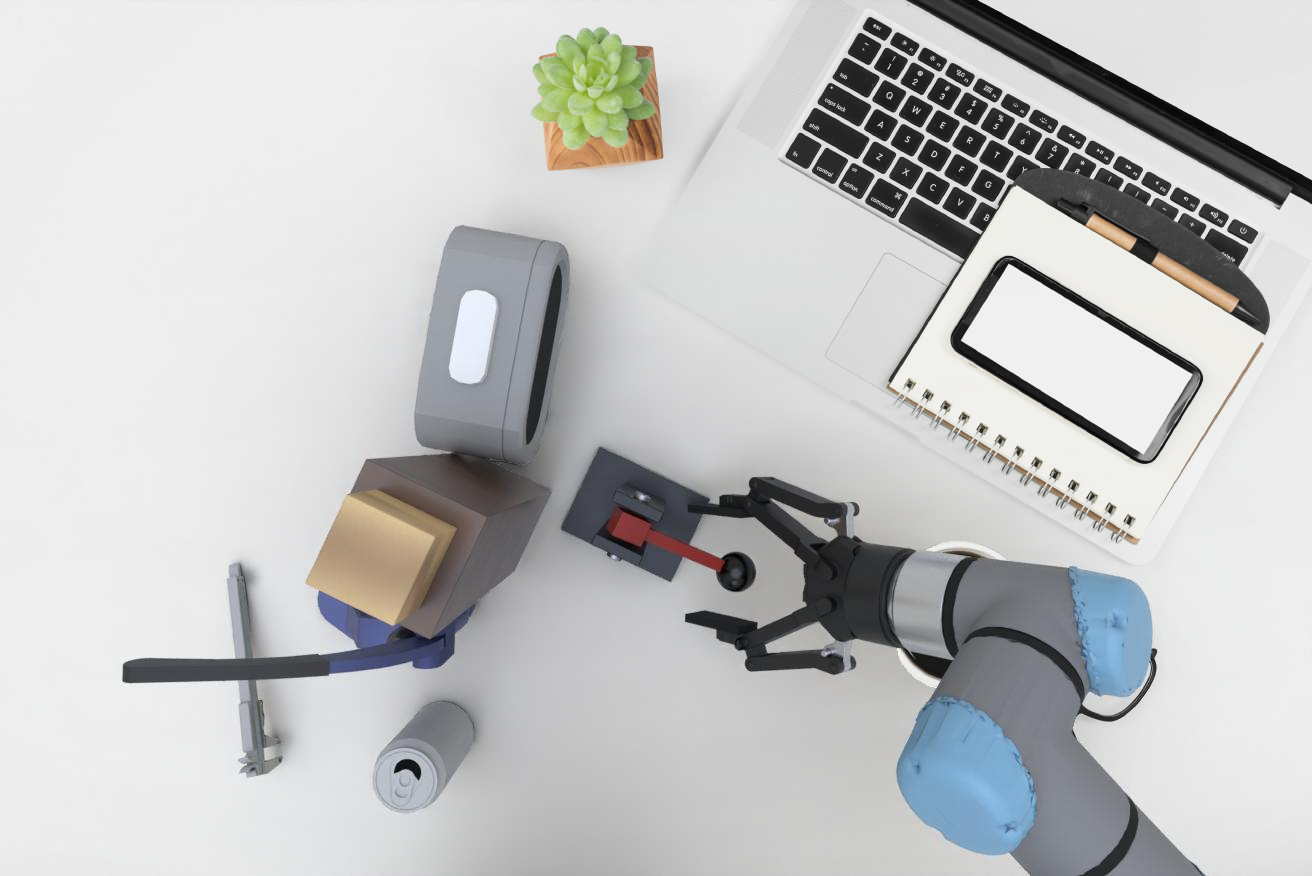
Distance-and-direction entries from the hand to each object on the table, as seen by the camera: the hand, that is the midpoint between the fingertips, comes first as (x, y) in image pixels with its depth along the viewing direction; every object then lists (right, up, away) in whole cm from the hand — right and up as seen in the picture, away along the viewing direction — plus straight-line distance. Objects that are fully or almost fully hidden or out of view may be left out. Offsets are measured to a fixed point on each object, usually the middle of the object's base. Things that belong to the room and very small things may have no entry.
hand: (696, 561), depth 78 cm
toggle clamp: (-6, +4, +4) cm, 8 cm away
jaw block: (-21, +4, -23) cm, 32 cm away
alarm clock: (-18, +20, +5) cm, 27 cm away
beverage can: (-25, -18, +5) cm, 31 cm away
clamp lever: (-2, +2, -4) cm, 5 cm away
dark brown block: (-20, +4, +5) cm, 21 cm away
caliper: (-44, -11, +5) cm, 46 cm away
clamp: (-30, -4, +5) cm, 30 cm away
